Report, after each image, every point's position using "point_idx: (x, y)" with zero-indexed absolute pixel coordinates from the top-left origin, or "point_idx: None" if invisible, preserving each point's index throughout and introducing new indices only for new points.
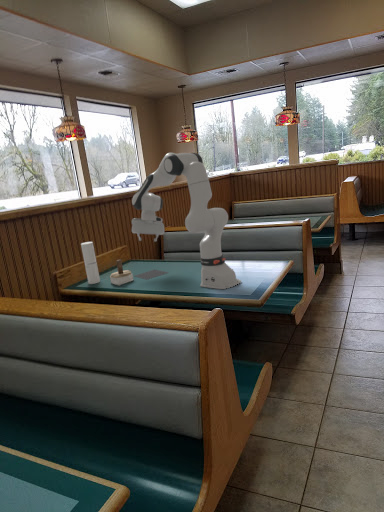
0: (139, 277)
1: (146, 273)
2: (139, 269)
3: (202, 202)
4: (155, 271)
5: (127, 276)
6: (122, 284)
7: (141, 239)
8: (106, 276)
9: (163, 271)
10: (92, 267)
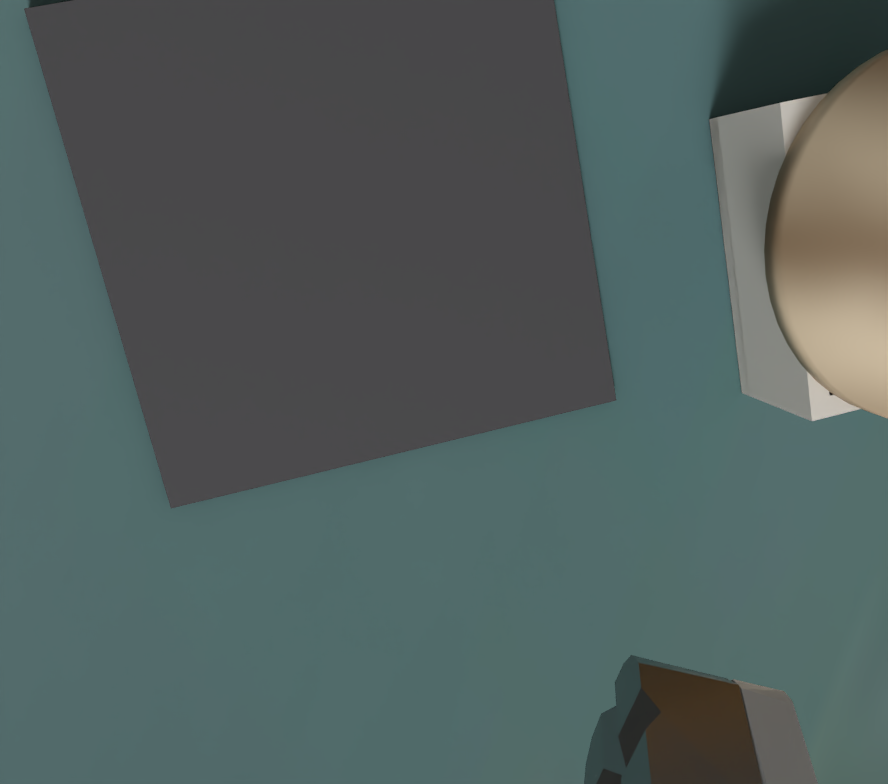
0: (577, 208)
1: (389, 363)
2: (369, 774)
3: None
4: (209, 352)
5: None
6: None
7: (643, 673)
8: (877, 772)
9: (83, 203)
10: None
